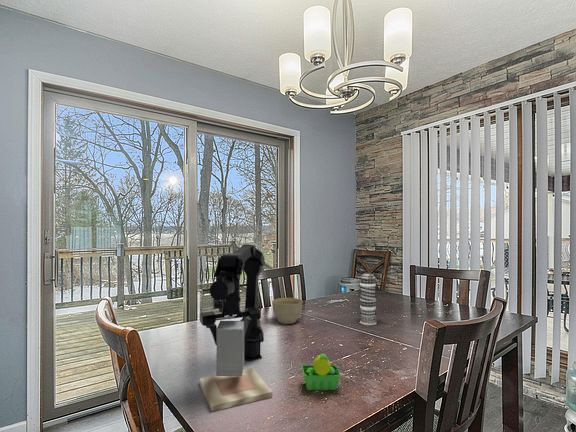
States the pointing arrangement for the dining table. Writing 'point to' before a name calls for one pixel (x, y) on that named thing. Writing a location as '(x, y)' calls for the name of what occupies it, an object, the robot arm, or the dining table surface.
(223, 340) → the skincare box
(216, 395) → the birch base
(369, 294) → the decorative candle
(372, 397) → the dining table surface
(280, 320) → the planter bowl
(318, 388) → the fruit basket
